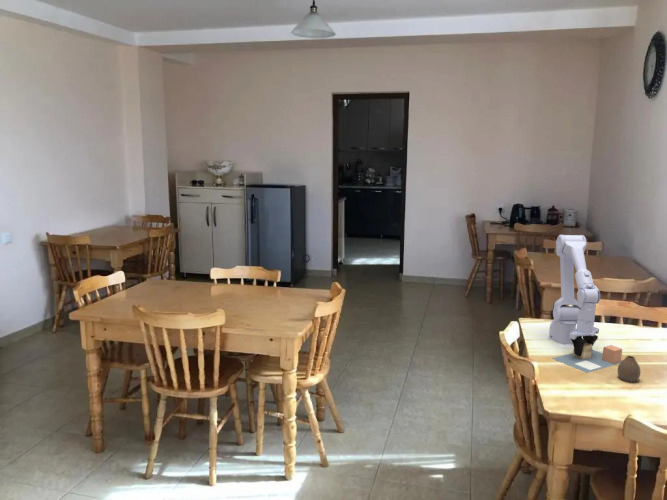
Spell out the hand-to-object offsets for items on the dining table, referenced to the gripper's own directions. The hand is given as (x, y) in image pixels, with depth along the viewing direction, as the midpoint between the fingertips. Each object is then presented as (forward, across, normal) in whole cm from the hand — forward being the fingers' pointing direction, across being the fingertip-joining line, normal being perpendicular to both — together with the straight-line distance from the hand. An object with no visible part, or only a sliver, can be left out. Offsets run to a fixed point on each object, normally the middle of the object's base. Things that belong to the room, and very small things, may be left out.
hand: (582, 354), depth 213 cm
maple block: (+1, 0, 0) cm, 1 cm away
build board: (+2, -1, -4) cm, 4 cm away
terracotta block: (+1, +6, -8) cm, 10 cm away
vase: (+2, -4, -21) cm, 21 cm away
